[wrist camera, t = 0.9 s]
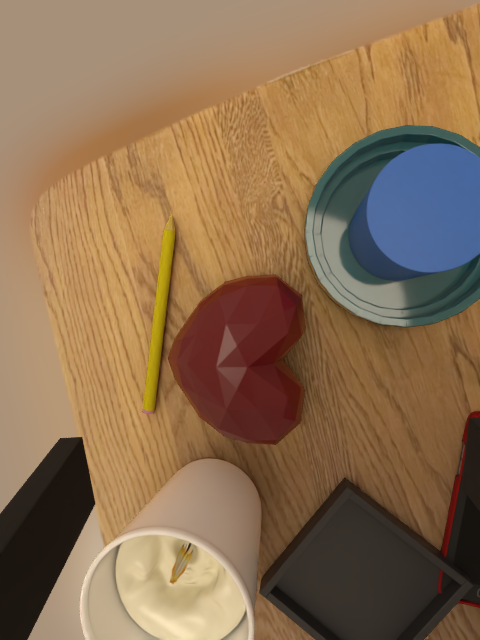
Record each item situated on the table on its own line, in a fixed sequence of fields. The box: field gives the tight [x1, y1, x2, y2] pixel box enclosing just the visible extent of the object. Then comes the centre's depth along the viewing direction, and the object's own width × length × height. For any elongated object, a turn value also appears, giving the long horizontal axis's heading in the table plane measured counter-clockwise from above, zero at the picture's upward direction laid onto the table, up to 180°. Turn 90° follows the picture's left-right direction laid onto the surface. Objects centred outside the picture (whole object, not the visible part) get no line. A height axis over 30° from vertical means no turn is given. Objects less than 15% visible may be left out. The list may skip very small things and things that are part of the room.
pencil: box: [142, 213, 176, 414], centre depth 32 cm, size 16×1×1 cm, turn 172°
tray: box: [259, 478, 473, 640], centre depth 30 cm, size 11×11×2 cm
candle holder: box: [80, 458, 262, 640], centre depth 27 cm, size 10×10×12 cm
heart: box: [168, 275, 306, 445], centre depth 28 cm, size 12×8×10 cm
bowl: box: [304, 125, 480, 327], centre depth 28 cm, size 14×14×3 cm
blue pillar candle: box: [349, 143, 480, 281], centre depth 25 cm, size 7×7×8 cm
